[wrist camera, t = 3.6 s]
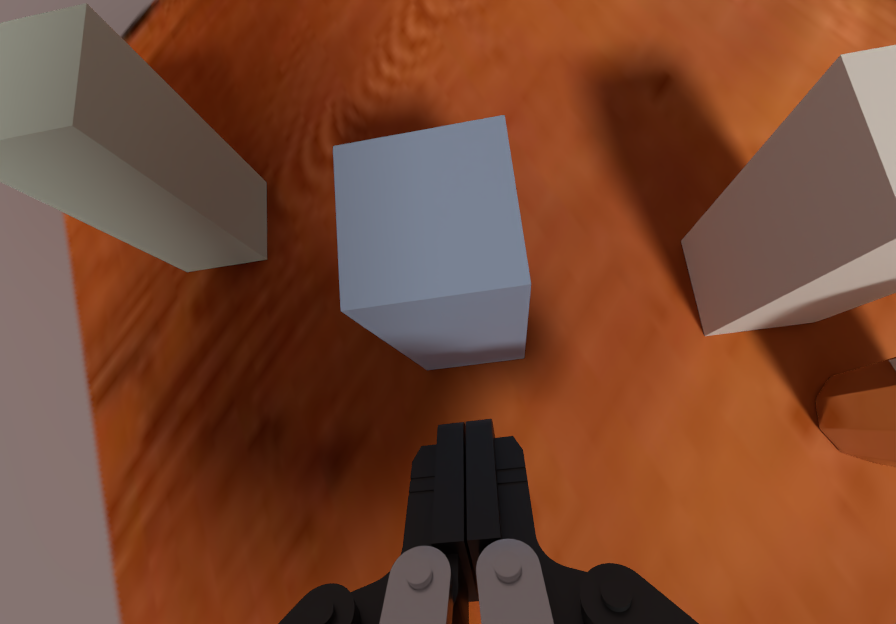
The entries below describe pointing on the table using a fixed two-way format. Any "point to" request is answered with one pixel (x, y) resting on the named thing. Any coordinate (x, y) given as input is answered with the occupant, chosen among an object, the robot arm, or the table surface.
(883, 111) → the cream block
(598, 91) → the table surface
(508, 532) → the robot arm
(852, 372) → the milkshake
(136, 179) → the sage block
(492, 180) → the slate blue block
